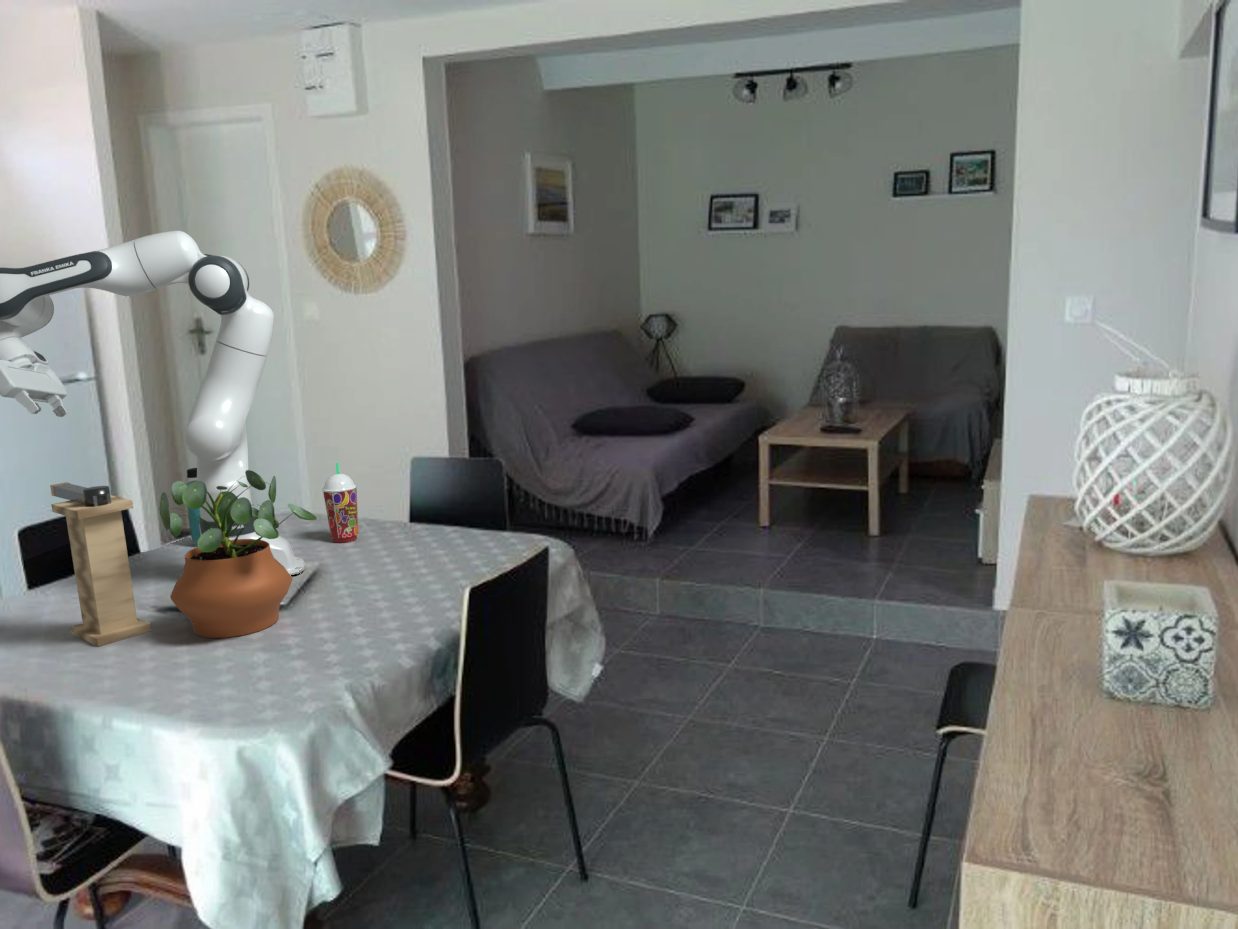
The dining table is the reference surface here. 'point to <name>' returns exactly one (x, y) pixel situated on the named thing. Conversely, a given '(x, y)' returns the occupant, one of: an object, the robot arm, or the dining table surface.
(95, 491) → the grey rod with knob
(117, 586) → the stand
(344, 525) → the smoothie
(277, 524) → the potted plant
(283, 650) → the dining table surface
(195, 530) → the beverage bottle
